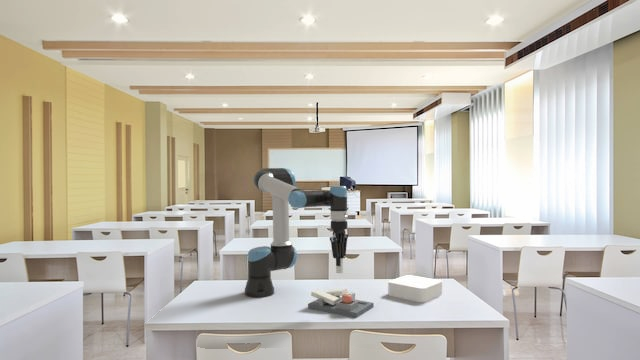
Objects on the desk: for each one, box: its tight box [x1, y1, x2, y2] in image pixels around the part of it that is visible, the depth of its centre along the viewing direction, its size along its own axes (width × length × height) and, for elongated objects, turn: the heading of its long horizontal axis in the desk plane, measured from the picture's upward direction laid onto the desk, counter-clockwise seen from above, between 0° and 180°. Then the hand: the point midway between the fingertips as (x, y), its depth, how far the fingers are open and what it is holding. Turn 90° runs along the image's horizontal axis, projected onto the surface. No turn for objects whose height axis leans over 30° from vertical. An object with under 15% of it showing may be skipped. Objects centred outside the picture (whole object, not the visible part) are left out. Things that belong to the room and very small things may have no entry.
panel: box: [307, 294, 375, 319], centre depth 195 cm, size 25×17×5 cm
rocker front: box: [310, 288, 339, 305], centre depth 195 cm, size 12×5×2 cm, turn 58°
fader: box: [348, 292, 356, 300], centre depth 198 cm, size 2×3×3 cm, turn 148°
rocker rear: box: [322, 288, 349, 297], centre depth 201 cm, size 12×5×2 cm, turn 58°
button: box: [341, 293, 352, 304], centre depth 189 cm, size 5×5×4 cm
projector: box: [387, 274, 443, 303], centre depth 217 cm, size 21×22×7 cm
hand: (339, 272), depth 190 cm, fingers closed
